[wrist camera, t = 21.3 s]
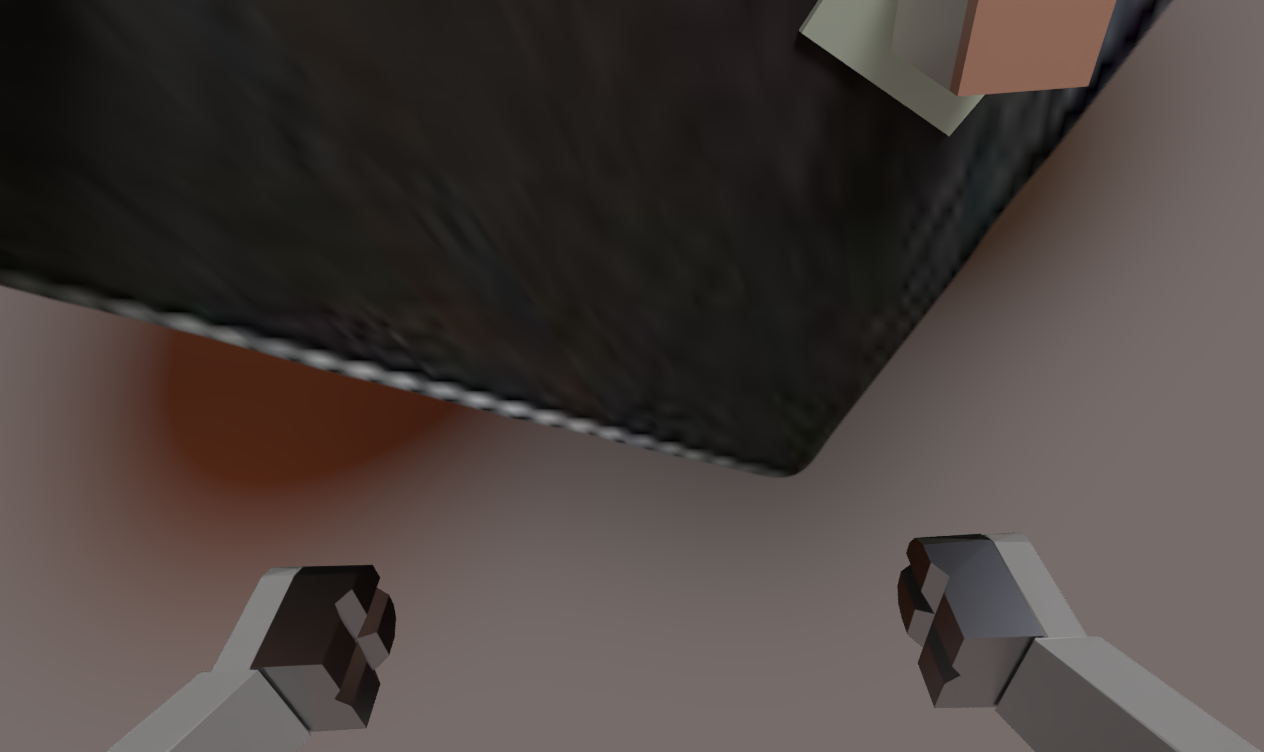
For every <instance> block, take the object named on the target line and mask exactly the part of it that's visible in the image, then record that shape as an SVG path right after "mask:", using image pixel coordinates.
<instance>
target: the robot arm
mask: <svg viewBox="0 0 1264 752" xmlns="http://www.w3.org/2000/svg"><path fill="white" fill-rule="evenodd" d="M906 554H907V557H908V559H909V562H910V565H909V566H908V567H906V568H905V569H904V570H902V571H901V573H900V577H899V582H898V586H897V587H898V604H899V609H900V613H901V617H902V621H903V623H904V626H905V629H906V632H907V634H908V635H909V636H910V637H911V638H912V639H914V640H915V641H916V642H917V643H918V644H919V645H920V646H922V647H923V649H922V652H921V655H920V658H919V661H918V665H919V668H920V670H921V673H922V676H923V678H924V681H925V684H926V686H927V689H928V692H929V694H930V697H931V700H932V703H933V705H934V708H960V707H961V708H962V707H997V708H996V709H995V711H996V712H997V713H998V714H999V715H1000V716H1001V717H1002V718H1003V719H1004V720H1005V721H1006V722H1007V723H1008V724H1009V725H1010V726H1011V727H1012V728H1013V729H1014V730H1015V731H1016V732H1017V733H1018V734H1019V735H1020V736H1021V738H1022V739H1023V740H1024V741H1026V743H1028V745H1029V746H1031V748H1032V749H1033V750H1034V751H1035V752H1261V751H1259V750H1258V749H1256V748H1255V747H1253V746H1252V745H1251V744H1249V743H1248V742H1246V741H1245V740H1244V739H1242V738H1241V737H1240V736H1238V735H1237V734H1235V733H1234V732H1232V731H1231V730H1230V729H1228V728H1227V727H1225V726H1224V725H1223V724H1221V723H1220V722H1219V721H1217V720H1216V719H1214V718H1213V717H1212V716H1210V715H1209V714H1207V713H1206V712H1205V711H1203V710H1202V709H1200V708H1199V707H1198V706H1196V705H1195V704H1193V703H1192V702H1191V701H1189V700H1188V699H1186V698H1185V697H1184V696H1182V695H1181V694H1179V693H1178V692H1177V691H1175V690H1174V689H1172V688H1171V687H1170V686H1168V685H1167V684H1166V683H1164V682H1162V681H1161V680H1160V679H1159V678H1157V677H1156V676H1154V675H1153V674H1152V673H1150V672H1149V671H1147V670H1146V669H1145V668H1143V667H1142V666H1140V665H1139V664H1137V663H1136V662H1135V661H1133V660H1132V659H1131V658H1129V657H1128V656H1126V655H1125V654H1124V653H1122V652H1121V651H1119V650H1118V649H1117V648H1115V647H1114V646H1112V645H1111V644H1109V643H1108V642H1107V641H1105V640H1104V639H1103V638H1101V637H1100V636H1087V634H1086V633H1085V631H1084V630H1083V628H1082V626H1081V625H1080V623H1079V621H1078V620H1077V618H1076V616H1075V615H1074V613H1073V612H1072V610H1071V608H1070V607H1069V605H1068V603H1067V602H1066V600H1065V598H1064V597H1063V595H1062V594H1061V592H1060V590H1059V589H1058V587H1057V585H1056V584H1055V582H1054V580H1053V579H1052V577H1051V575H1050V574H1049V572H1048V571H1047V569H1046V567H1045V566H1044V564H1043V562H1042V561H1041V559H1040V557H1039V556H1038V554H1037V553H1036V551H1035V549H1034V548H1033V546H1032V544H1031V543H1030V541H1029V539H1027V538H1026V537H1025V536H1024V535H1022V534H1021V533H1003V534H988V535H981V534H969V535H953V536H937V537H921V538H914V539H913V540H912V541H911V542H910V543H909V546H908V549H907V552H906ZM379 580H380V576H379V575H378V573H377V571H376V570H375V568H374V566H373V565H346V566H312V567H311V566H310V567H307V566H303V567H281V568H271V569H270V570H269V571H268V572H266V573H265V574H264V575H263V576H262V577H261V579H260V581H259V583H258V584H257V586H256V588H255V590H254V592H253V594H252V596H251V597H250V599H249V601H248V603H247V605H246V607H245V609H244V610H243V612H242V614H241V616H240V618H239V620H238V622H237V624H236V625H235V628H234V629H233V631H232V633H231V635H230V637H229V639H228V640H227V642H226V644H225V646H224V648H223V650H222V652H221V654H220V656H219V657H218V659H217V661H216V663H215V665H214V667H213V669H212V670H211V671H205V672H200V673H199V674H198V675H197V676H196V677H194V679H192V680H191V681H190V682H188V683H187V684H186V685H185V686H184V687H183V688H181V689H180V690H179V691H178V692H177V693H175V694H174V695H173V696H172V697H171V698H169V699H168V700H167V701H166V702H165V703H164V704H162V705H161V706H160V707H159V708H158V709H156V710H155V711H154V712H153V713H152V714H151V715H149V716H148V717H147V718H146V719H144V720H143V721H142V722H141V723H140V724H139V725H137V726H136V727H135V728H134V729H133V730H131V731H130V732H129V733H128V734H127V735H125V736H124V737H123V738H122V739H121V740H120V741H118V742H117V743H116V744H115V745H114V746H112V747H111V748H110V749H109V750H108V751H107V752H297V751H298V750H299V749H300V748H301V747H302V745H303V744H304V743H305V742H306V741H307V739H308V738H309V737H310V736H311V734H310V732H314V731H328V730H329V731H330V730H345V729H361V728H367V725H368V722H369V719H370V715H371V712H372V709H373V706H374V703H375V700H376V696H377V693H378V690H379V687H380V681H379V679H378V676H377V674H376V671H375V669H376V668H377V667H378V666H379V665H380V664H381V663H382V662H383V661H384V660H385V659H386V658H387V657H388V656H389V654H390V651H391V648H392V644H393V641H394V637H395V626H396V625H395V624H396V614H395V609H394V604H393V602H392V600H391V598H390V596H389V595H388V594H387V593H385V592H383V591H382V590H380V589H378V588H377V585H378V583H379Z"/></svg>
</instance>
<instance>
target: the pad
mask: <svg viewBox="0 0 1264 752" xmlns="http://www.w3.org/2000/svg"><path fill="white" fill-rule="evenodd" d="M897 4H898V0H818V1H817V3H816V5H815V6H814V8H813V9H812V11H811V12H810V14H809V15H808V17H807V18H806V20H805V21H804V23H803V25H802V26H801V28H800V29H799V31H800V32H801V33H802V34H804V35H805V36H806V37H808V38H809V39H811V40H812V41H814V42H815V43H816V44H818V45H819V46H821V47H822V48H824V49H825V50H826V51H828V52H829V53H831V54H832V55H834V56H835V57H836V58H838V59H839V60H841V61H842V62H844V63H845V64H846V65H848V66H849V67H851V68H852V69H854V70H855V71H856V72H858V73H859V74H861V75H862V76H864V77H865V78H867V79H868V80H869V81H871V82H872V83H874V84H875V85H877V86H878V87H879V88H881V89H882V90H884V91H885V92H887V93H888V94H889V95H891V96H892V97H894V98H895V99H897V100H898V101H899V102H901V103H902V104H904V105H905V106H907V107H908V108H909V109H911V110H912V111H914V112H915V113H917V114H918V115H919V116H921V117H922V118H924V119H925V120H927V121H928V122H929V123H931V124H932V125H934V126H935V127H937V128H938V129H939V130H941V131H942V132H944V133H945V134H947V135H948V136H950V135H951V134H952V132H953V131H954V130H955V129H956V128H957V127H958V125H959V124H960V123H961V122H962V121H963V120H964V118H965V117H966V116H967V115H968V114H969V112H970V111H971V110H972V109H973V108H974V107H975V105H976V104H977V103H978V102H979V101H980V100H981V98H982V97H983V96H984V95H985V94H982V95H970V96H956V95H955V94H953V93H952V92H950V91H949V90H947V89H946V88H944V87H943V86H941V85H940V84H938V83H937V82H935V81H934V80H932V79H931V78H929V77H928V76H926V75H925V74H923V73H922V72H920V71H919V70H917V69H916V68H914V67H913V66H911V65H910V64H909V63H907V62H906V61H904V60H903V59H901V58H900V57H898V56H897V55H895V54H894V53H892V52H891V51H890V50H891V44H892V37H893V31H894V24H895V17H896V11H897Z"/></svg>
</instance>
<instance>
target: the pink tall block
mask: <svg viewBox="0 0 1264 752" xmlns="http://www.w3.org/2000/svg"><path fill="white" fill-rule="evenodd" d="M1115 3H1116V0H898V4H897V11H896V17H895V24H894V31H893V37H892V44H891V50H890V51H891V52H892V53H894V54H895V55H897V56H898V57H900V58H901V59H903V60H904V61H906V62H907V63H909V64H910V65H911V66H913V67H914V68H916V69H917V70H919V71H920V72H922V73H923V74H925V75H926V76H928V77H929V78H931V79H932V80H934V81H935V82H937V83H938V84H940V85H941V86H943V87H944V88H946V89H947V90H949V91H950V92H952V93H953V94H955V95H956V96H970V95H982V94H995V93H1008V92H1020V91H1033V90H1046V89H1058V88H1071V87H1084V86H1088V85H1089V82H1090V79H1091V76H1092V73H1093V70H1094V67H1095V64H1096V61H1097V58H1098V54H1099V51H1100V48H1101V45H1102V42H1103V39H1104V36H1105V33H1106V30H1107V27H1108V24H1109V21H1110V18H1111V15H1112V12H1113V9H1114V6H1115Z"/></svg>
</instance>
